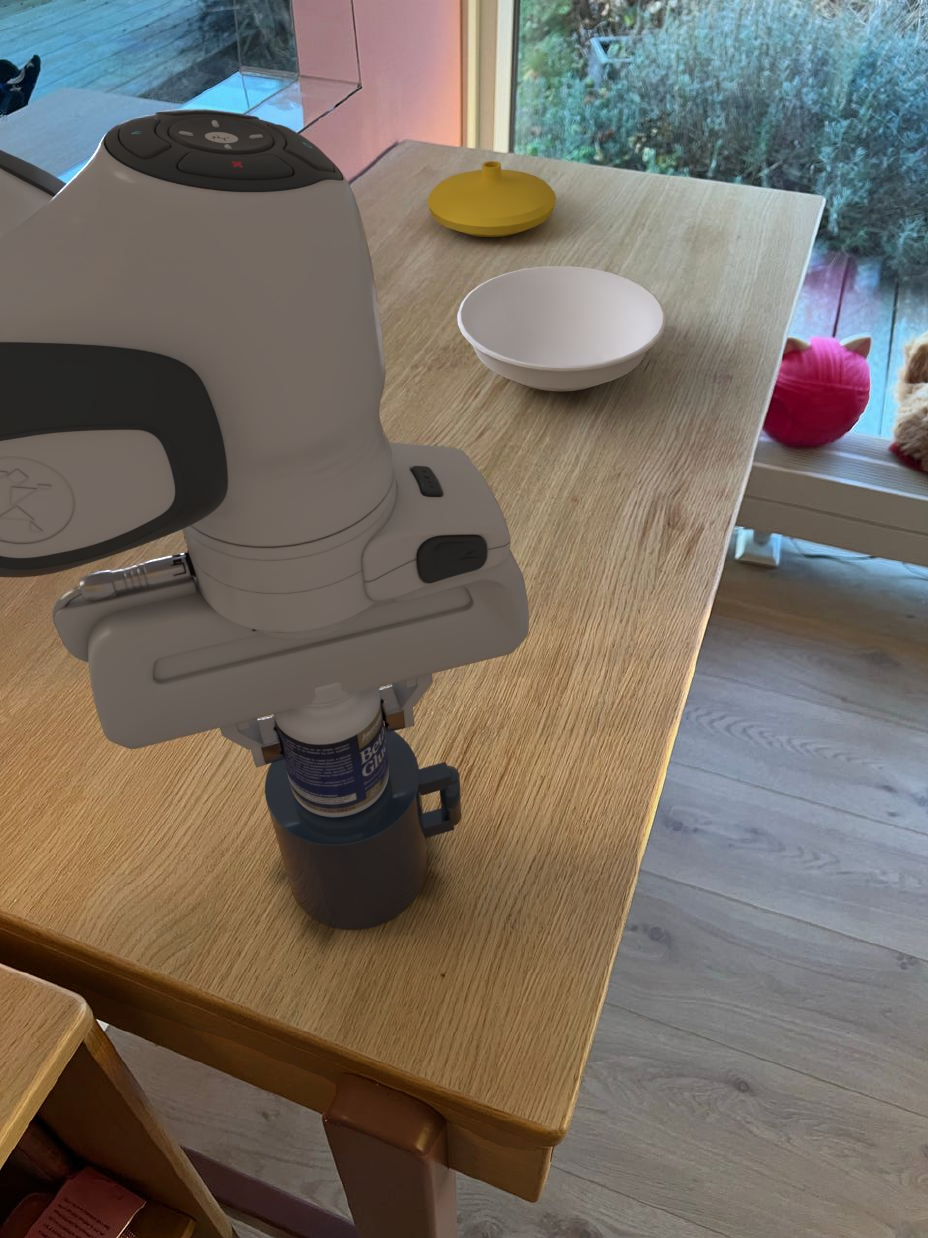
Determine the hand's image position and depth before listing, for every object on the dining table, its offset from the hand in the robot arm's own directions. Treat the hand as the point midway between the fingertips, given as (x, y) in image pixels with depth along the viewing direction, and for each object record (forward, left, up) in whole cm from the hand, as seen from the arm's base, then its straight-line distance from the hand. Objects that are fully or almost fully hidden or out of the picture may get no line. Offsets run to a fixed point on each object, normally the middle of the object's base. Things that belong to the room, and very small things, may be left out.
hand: (333, 737), depth 52 cm
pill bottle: (0, 0, -4) cm, 4 cm away
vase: (+37, +83, -13) cm, 92 cm away
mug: (+1, 0, -13) cm, 13 cm away
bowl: (+32, +48, -13) cm, 59 cm away
